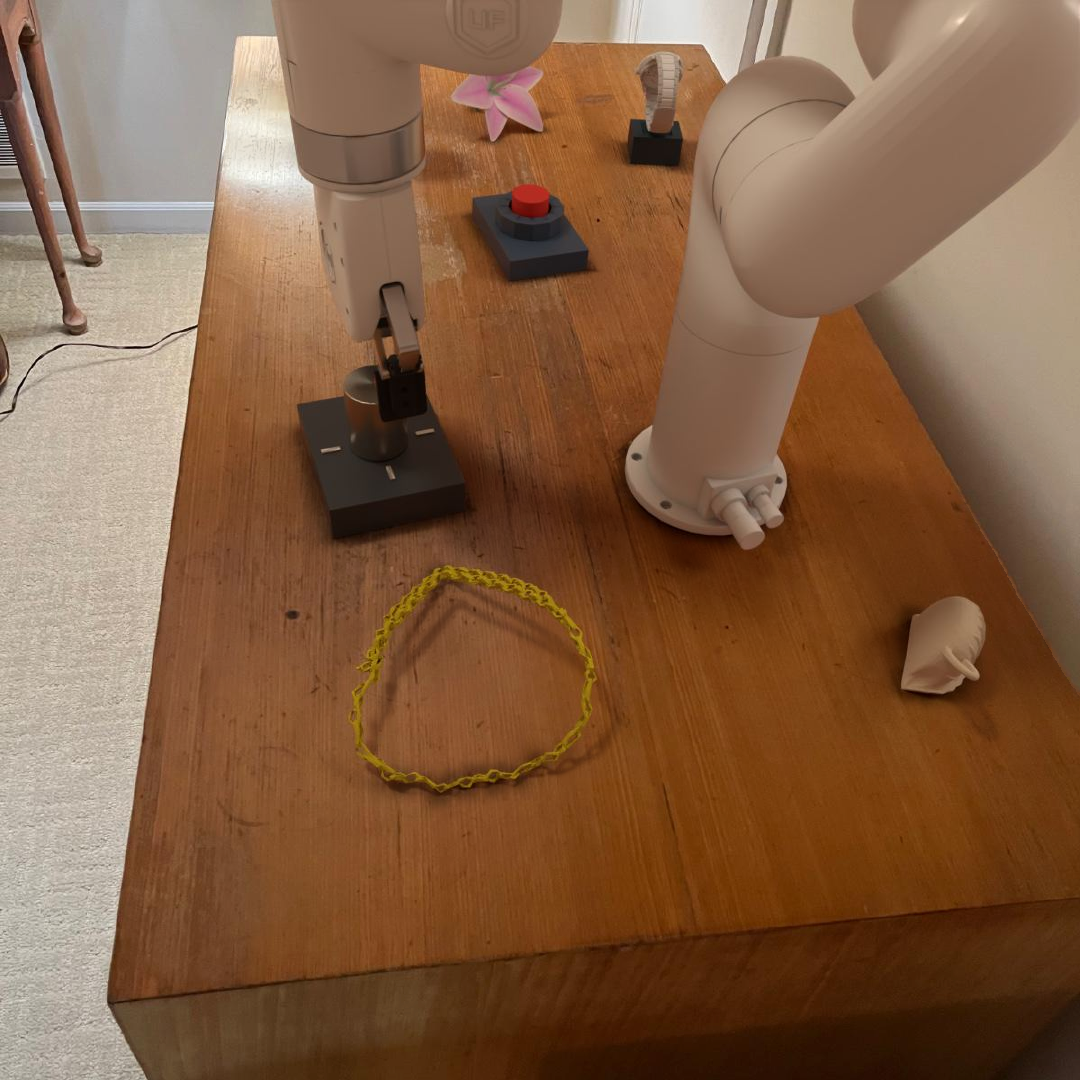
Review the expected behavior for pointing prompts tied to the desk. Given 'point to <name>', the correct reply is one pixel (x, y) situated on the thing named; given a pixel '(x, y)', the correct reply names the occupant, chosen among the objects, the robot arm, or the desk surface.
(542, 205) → the button
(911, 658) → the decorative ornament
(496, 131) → the lily
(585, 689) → the decorative chain
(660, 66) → the watch
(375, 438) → the dial
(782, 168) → the robot arm
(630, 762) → the desk surface
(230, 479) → the desk surface
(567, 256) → the button block
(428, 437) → the panel
